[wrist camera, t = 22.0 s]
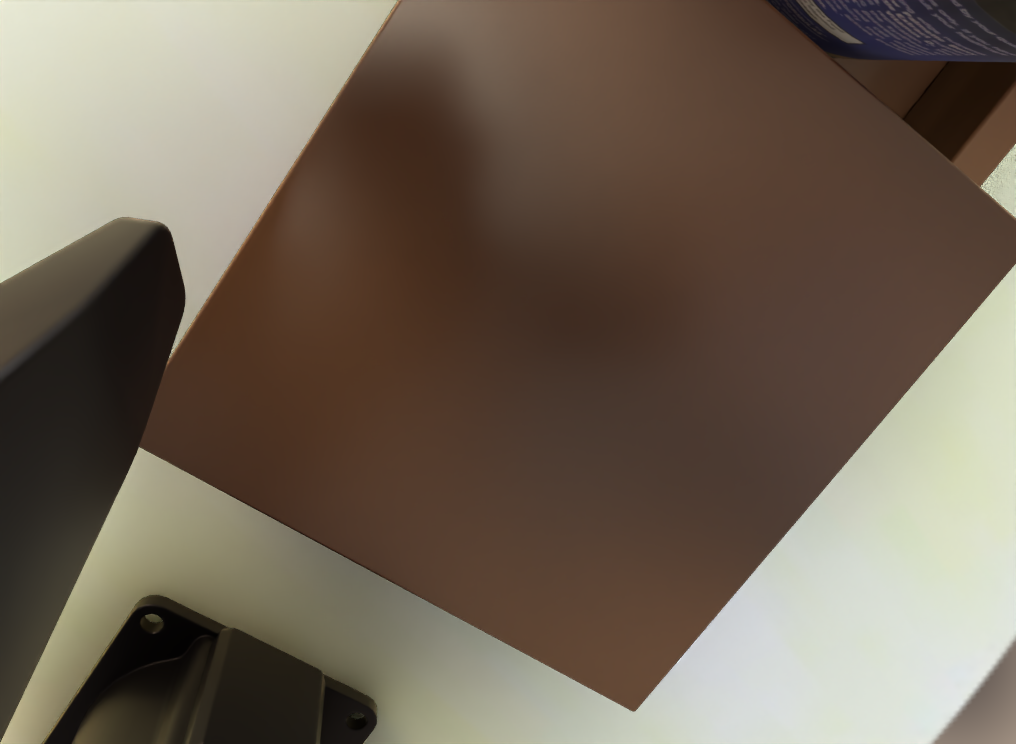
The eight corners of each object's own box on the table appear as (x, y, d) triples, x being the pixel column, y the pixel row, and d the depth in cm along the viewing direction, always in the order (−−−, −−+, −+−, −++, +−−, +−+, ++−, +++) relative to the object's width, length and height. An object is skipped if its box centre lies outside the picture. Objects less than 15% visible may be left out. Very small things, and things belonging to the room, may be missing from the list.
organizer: (491, -141, 18) (530, -207, 13) (891, 193, 21) (1040, 237, 16) (181, 344, 20) (118, 437, 15) (584, 577, 23) (634, 714, 18)
